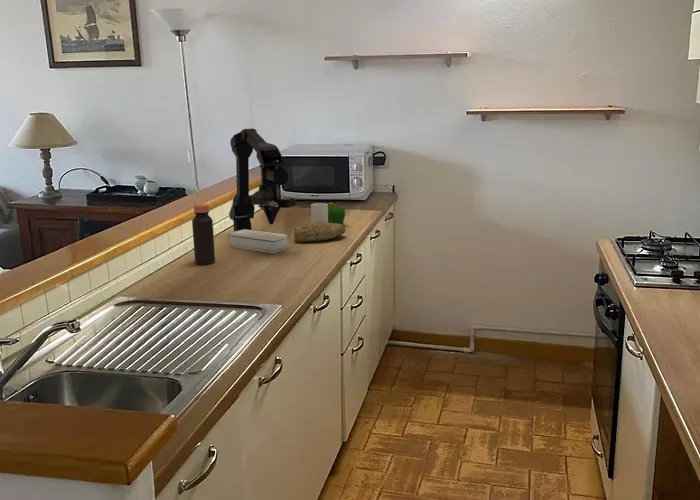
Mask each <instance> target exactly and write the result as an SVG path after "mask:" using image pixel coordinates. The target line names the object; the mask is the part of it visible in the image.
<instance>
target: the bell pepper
mask: <svg viewBox="0 0 700 500" xmlns="http://www.w3.org/2000/svg"><path fill="white" fill-rule="evenodd" d="M328 206H330V207H328V223H337V224H342V225H343V224H344V223H345V222H344V221H345V216H346V210H345V207H341V206H339V205H338V206H336V204H335V203H333V202H329V203H328Z"/></svg>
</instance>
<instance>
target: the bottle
mask: <svg viewBox="0 0 700 500" xmlns="http://www.w3.org/2000/svg"><path fill="white" fill-rule="evenodd" d="M193 211H194V214H195V216H194V217H193V219H192V220H191V225H192V239H193V251H194V252H193V253H194V263H195V265H201V266H204V265H205V266H206V265H212V264H214V263H215V262H216V253H215V252H216V250H215V237H214V235H215V234H214V223H213V222H214V221H213V219H212V217H211V216H210V215H209V214H210V205H209V204H208V203H197V204H194V205H193Z"/></svg>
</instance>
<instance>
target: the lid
mask: <svg viewBox="0 0 700 500" xmlns="http://www.w3.org/2000/svg"><path fill="white" fill-rule="evenodd" d="M230 236H239V237H246V238H254V239H261V240H268V241H277V240H280V239H284V238H287V239H288V234H284V233H275V232H270V231H269V232H267V231H260V230H254V229H251V230H246V229H243V230H239V231H235V232H234V231H232V232H230Z"/></svg>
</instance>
